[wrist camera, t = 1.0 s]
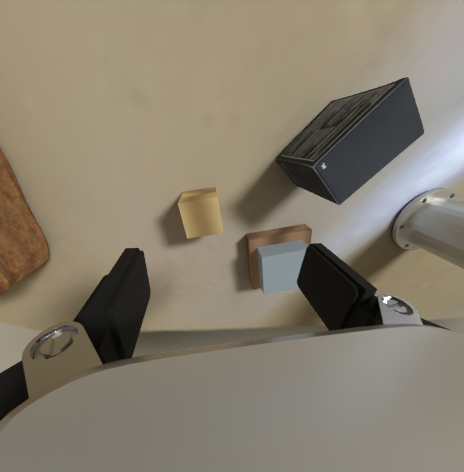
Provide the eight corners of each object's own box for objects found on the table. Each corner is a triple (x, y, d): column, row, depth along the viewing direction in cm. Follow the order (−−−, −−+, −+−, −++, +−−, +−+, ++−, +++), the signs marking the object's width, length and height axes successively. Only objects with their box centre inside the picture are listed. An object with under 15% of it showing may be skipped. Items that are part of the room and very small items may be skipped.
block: (215, 186, 28) (217, 197, 23) (220, 216, 30) (223, 232, 25) (182, 191, 28) (177, 203, 22) (190, 221, 30) (187, 238, 25)
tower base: (303, 222, 33) (311, 229, 31) (300, 269, 39) (307, 278, 36) (245, 232, 33) (248, 240, 30) (249, 279, 38) (253, 289, 35)
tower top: (301, 239, 31) (310, 248, 29) (299, 275, 35) (307, 285, 33) (257, 247, 31) (261, 257, 28) (259, 282, 35) (263, 294, 32)
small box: (297, 188, 30) (339, 209, 20) (273, 158, 27) (309, 166, 18) (353, 137, 27) (429, 134, 18) (332, 98, 25) (410, 71, 15)
